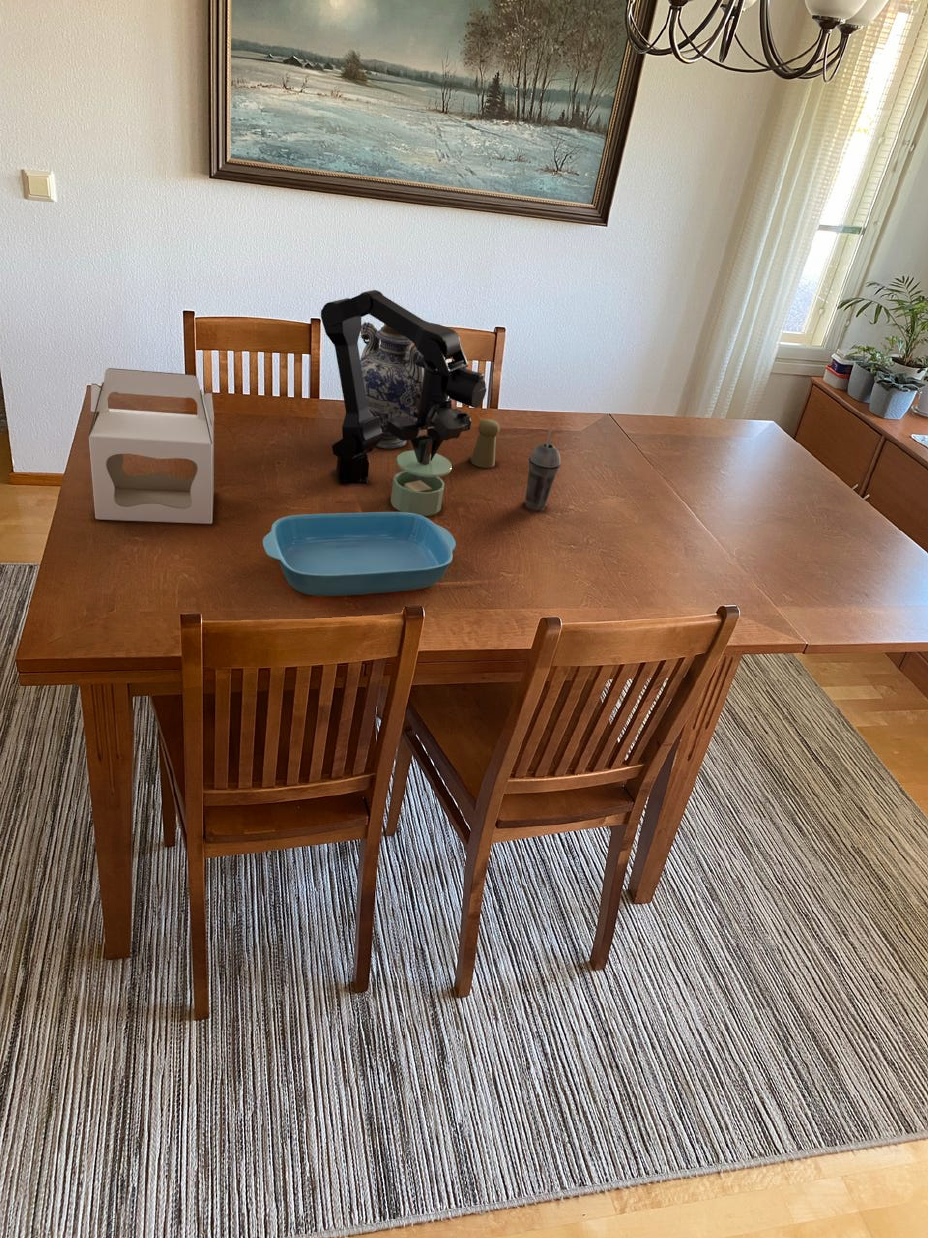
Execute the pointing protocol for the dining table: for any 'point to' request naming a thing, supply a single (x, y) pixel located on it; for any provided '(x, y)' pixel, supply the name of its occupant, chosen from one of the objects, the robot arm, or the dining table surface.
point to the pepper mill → (485, 444)
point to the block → (418, 486)
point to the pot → (417, 494)
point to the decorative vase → (390, 378)
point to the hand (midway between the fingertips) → (424, 461)
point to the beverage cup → (541, 474)
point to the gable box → (151, 450)
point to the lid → (424, 463)
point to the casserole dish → (359, 552)
